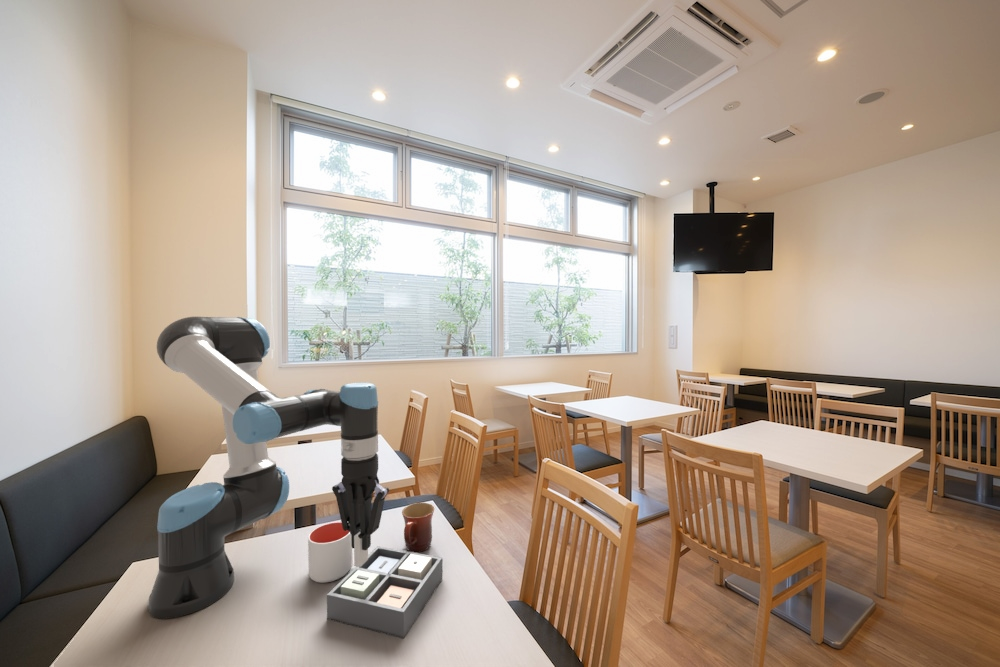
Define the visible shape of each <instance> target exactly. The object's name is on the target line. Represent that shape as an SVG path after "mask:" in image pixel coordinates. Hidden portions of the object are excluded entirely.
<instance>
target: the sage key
mask: <svg viewBox="0 0 1000 667" xmlns="http://www.w3.org/2000/svg"><path fill="white" fill-rule="evenodd" d="M378 584H379V574H375V573H370V572H365V571H360V570H357V571H356V572H355V573H354V574H353V575H352V576H351V577H350V578H349V579H348V580H347V581H346V582H345V583H344V584H343V585H342V586H341V595H345V596H349V597H354V598H358V599H363V600H365V599H366V598H367V597H368V596H369V595H370V593H371V592H372V591H373V590H374V589H375V588H376V587H377V586H378Z"/></svg>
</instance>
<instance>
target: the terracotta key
mask: <svg viewBox="0 0 1000 667" xmlns="http://www.w3.org/2000/svg"><path fill="white" fill-rule="evenodd" d="M413 593H414V590H411V589H406V588H402V587H397V586H392V585H391V586H390V587H389V588H388V590H387V591H386V592H385V593H384V594H383V596H382V597H381V598H380V599H379V600H378V602H377V603H380V604H385V605H389V606H394V607H398V608H403V607H404V605H405V604H406V602H407V601H408V600H409V598H410V597H411V596H412V594H413Z"/></svg>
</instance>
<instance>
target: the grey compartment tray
mask: <svg viewBox="0 0 1000 667" xmlns="http://www.w3.org/2000/svg"><path fill="white" fill-rule="evenodd" d="M410 554H414V555H419V556H425V557H430V558H432V568H431V569H430V571H429V572H428V573H427V575H426V576H425V578H424V579H423V580H419V579H414V578H409V577H404V576H399V575H398V568H399V567H400V566H401V565H402V563H403V562H404V561H405V560H406V559H407V558H408V556H409V555H410ZM379 556H383V557H388V558H393V559H399V560H400V561H399V562H398V563H397V564H396V565H395V566H394V567H393V569H392V570H391V571H390V572H389V573H384V572H379V571H374V570H369V569H367V568H368V567H369V566H370V565H371V564H372V563H373V562H374V561H375V560H376V559H377V558H378V557H379ZM357 570H360V571H365V572H370V573H375V574H379V584H378V586H377V587H376V588H375V589H374V590H373V591H372V592H371V593H370V595H369V596H368V597H367V598H366V599H365V600H363V599H358V598H354V597H349V596H345V595H341V586H342V585H343V584H344V583H345V582H346V581H347V580H348V579H349V578H350V577H351V576H352V575H353V574H354V573H355V572H356V571H357ZM442 580H443V557H441V556H435V555H432V554H431V555H430V554H424V553H420V552H411V551H409V550H408V551H407V550H402V549H398V548H397V549H395V548H390V547H384V546H380V545H379V546H378V545H376V547H375V548H374V549H373V550H372V551H370V552H369V553H368V560H367V561H366V562H365V563H364V564H363V565H362V566H361V567H357V566H354V568H353V569H352V570H350V572H348V574H346V575H345V577H343V578H342V580H340V582H339V583H337V584H336V585H335V586H334V587H333V588H332V589H331V590H330V591H329V592H328V593H327V594H326V620H330V621H333V622H335V623H336V622H337V623H340V624H344V625H348V626H349V625H350V626H353V627H356V628H361V629H365V630H370V631H372V632H377V633H381V634H385V635H389V636H393V637H396V638H400V639H405V637H406V636H407V635H408V633H409V632H410V630H411V628H412V626H413V625H414V623H415V622H416V620H417V619H418V618H419V616H420V614H421V613H422V611H423V610H424V608H425V606H426V605H427V603H428V602H429V600H430V599H431V597H432V595H433V594H434V592H436V589H437V588H438V586H439V585H440V583H441V582H442ZM391 585H392V586H397V587H402V588H406V589H411V590H414V593H413V594H412V596H411V597H410V598H409V600H408V601H407V602H406V604H405V605H404V607H403V608H398V607H394V606H389V605H385V604H380V603H377V602H378V600H379V599H380V598H381V597H382V596H383V594H384V593H385V592H386V591H387V590H388V588H389V587H390V586H391Z"/></svg>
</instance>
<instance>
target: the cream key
mask: <svg viewBox="0 0 1000 667" xmlns="http://www.w3.org/2000/svg"><path fill="white" fill-rule="evenodd" d="M431 568H432V558H430V557H425V556H419V555H414V554H410V555H409V556H408V558H407V559H406V560H405V561H404V562H403V563H402V565H401V566H400V567H399V568H398V575H399V576H404V577H409V578H414V579H419V580H423V579H424V578H425V576H426V575H427V573H428V572H429V571H430V569H431Z"/></svg>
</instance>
